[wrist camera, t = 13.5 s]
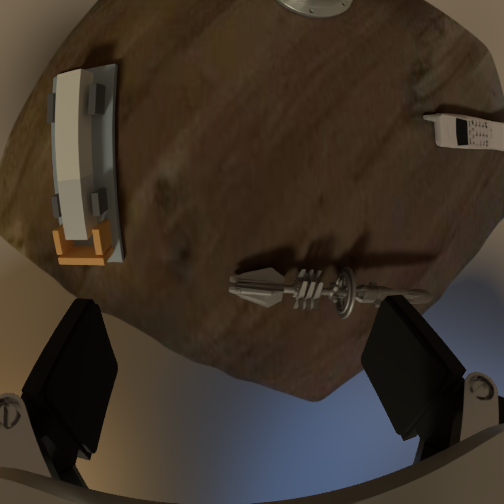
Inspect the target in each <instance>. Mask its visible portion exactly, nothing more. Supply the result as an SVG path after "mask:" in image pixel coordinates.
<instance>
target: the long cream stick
mask: <svg viewBox="0 0 504 504" xmlns="http://www.w3.org/2000/svg"><path fill="white" fill-rule="evenodd" d="M93 78H94V73H92V72H89V71H86V70H83V69H77V70H73V71H70V72H66V73H62V74H59V75H57V86H56V103H55V151H56V169H57V181H58V191H59V200H60V208H61V215H62V221H63V227H64V233H65V239H66V240H88V239H89V238H90V237H91V236H92V235H93V233H92V229H93V228H94V227H96V226H97V225H98V221H97V216H93V208H92V199H91V193H93V192H94V182H93V166H92V115H88V103H89V84H93Z"/></svg>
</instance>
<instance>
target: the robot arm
mask: <svg viewBox="0 0 504 504" xmlns="http://www.w3.org/2000/svg"><path fill="white" fill-rule="evenodd" d="M276 1H277V2H279V3H280V4H281V5H282V6H284V7H285V8H287V9H289V10H291V11H292V12H294V13H297V14H300V15H303V16H306V17H311V18H320V19H321V18H331V17H335V16H337V15H339V14H341V13H343V12H344V11H346V10H347V9H348V8H349V7H350V5H351V3H352V1H353V0H276ZM310 12H311V13H310ZM361 363H362V366H363V368H364V370H365V372H366V374H367V375H368V377H369V379H370V381H371V383H372V385H373V387H374V389H375V391H376V393H377V395H378V396H379V399H380V401H381V403H382V405H383V407H384V409H385V411H386V413H387V415H388V417H389V419H390V421H391V423H392V425H393V427H394V429H395V431H396V433H397V434H399V435H401V437H402V439H403V441H405V440H408V439H411V438H413V437H416V436H417V434H418V435H419V437H420V441H419V445H418V449H417V452H416V455H415V459H414V462H413V465H411V466H408V467H406V468H403V469H401V470H398V471H396V472H393V473H390V474H388V475H385V476H382V477H379V478H376V479H373V480H370V481H367V482H364V483H361V484H357V485H354V486H351V487H346V488H343V489H339V490H335V491H331V492H326V493H322V494H317V495H312V496H307V497H301V498H296V499H289V500H282V501H274V502H264V503H253V504H504V398H503V397H500V396H498V392H497V387H496V385H495V383H494V382H493V381H492V379H491V378H490V377H488V376H487V375H485V374H483V373H479V372H473V373H470V374H469V375H468V376H467V377H466V378H465V380H464V378H463V377H462V376H463V375H464V373H465V371H466V369H465V368H464V366H463V365H462V364H461V363H460V361H459V360H458V359H457V357H456V356H455V355H454V354H453V353H452V351H451V350H450V349H449V348H448V346H447V345H446V344H445V343H444V342H443V340H442V339H441V338H440V337H439V336H438V334H437V333H436V332H435V331H434V330H433V329H432V327H431V326H430V325H429V324H428V323H427V322H426V320H425V319H424V318H423V317H422V316H421V315H420V314H419V312H418V311H417V310H416V309H415V308H414V307H413V306H412V305H411V304H410V302H409V301H408V300H407V299H406V298H405V297H404V296H403V295H389V296H386V297H385V299H384V300H383V301H382V302H381V303H380V306H379V309H378V312H377V315H376V318H375V321H374V324H373V327H372V329H371V332H370V335H369V338H368V340H367V343H366V346H365V348H364V351H363V353H362V356H361ZM117 371H118V365H117V361H116V358H115V356H114V353H113V350H112V347H111V344H110V341H109V337H108V335H107V331H106V328H105V324H104V321H103V318H102V314H101V310H100V307H99V305H98V304H95V302H94V301H93V300H92V299H81V298H77V299H75V300H74V302H73V303H72V305H71V306H70V308H69V309H68V311H67V312H66V314H65V315H64V317H63V318H62V320H61V321H60V323H59V325H58V326H57V328H56V329H55V331H54V333H53V334H52V336H51V338H50V339H49V341H48V343H47V344H46V346H45V348H44V349H43V351H42V353H41V355H40V356H39V358H38V360H37V362H36V364H35V365H34V367H33V369H32V371H31V373H30V375H29V377H28V379H27V380H26V382H25V384H24V386H23V388H22V392H23V393H22V396H21V398H20V397H19V396H18V395H16V394H13V393H5V394H1V395H0V504H177V503H165V502H156V501H148V500H141V499H135V498H129V497H124V496H118V495H113V494H108V493H104V492H100V491H95V490H91V489H89V488H88V487H87V485H86V483H85V481H84V480H83V478H82V476H81V475H80V473H79V471H78V469H77V467H76V465H75V463H76V459H77V457H79V458H83V459H87V460H90V459H91V454H92V453H95V452H96V450H97V447H98V442H99V438H100V433H101V430H102V425H103V421H104V418H105V414H106V410H107V407H108V403H109V399H110V396H111V392H112V389H113V385H114V382H115V379H116V375H117Z"/></svg>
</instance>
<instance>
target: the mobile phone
mask: <svg viewBox="0 0 504 504" xmlns="http://www.w3.org/2000/svg"><path fill="white" fill-rule="evenodd" d="M423 117H424V119H425V120H429V121H434V127H435V142H436V144H437V145H438V146H441V147H450V148H464V149H495V150H501V151H504V123H500V122H493V121H492V122H491V121H488V120H484V119H481V118H477V117H472V116H467V115H460V114H449V113H443V114H442V113H437V114H433V115H424V116H423Z"/></svg>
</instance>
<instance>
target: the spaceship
mask: <svg viewBox="0 0 504 504" xmlns="http://www.w3.org/2000/svg"><path fill="white" fill-rule="evenodd" d="M313 271H314V270H310V271H309V273H308V274H307V272H306V269H302V271H301V273H300V272H298V271H297V272H296V280H295V281H296V283H293V285H283V284H284V276H282V275H281V274H280V273H278V272H277V271H275V270H274V269H273V268H266V269H261V270H256V271H251V272H246V273H242V274H241V275H237V276H232V277H230V281H231V282H232V283H233V284H235V286H231V287H230V288H229V292H231V293H234V294H236V295H239V296H240V297H241V298H244V299H246V300H249V301H251V302H254V303H257V304H259V305H262V306H264V307H267V308H268V307H270V306H272V305H274V304H276V303H278V302H280V301H282V296H283V293H291V294H293V297H298V298H296V299H297V301H296V304H295V306H294V308H295V309H297V308H298V306H299V310H303V309H305V307H306V308H307V310H311V309H312V308H313V307H314V310H315V311H318V310H319V305H318V301H319V298H320V296H321V295H326V296H327V295H329V299H331V300H332V301H333V302H334V303H335V307H336V311H337V314H338V316H339V317H340V318H342V319H345V318H347V317H348V316H349V315H350V314H351V312H352V310H353V307H354V304H355V300H357V301H359V302H362V303H363V304H364V302H365V303H374V305H375V307H379V306H380V303H381V302H382V301H383V300H384V299H385V297H386V296H389V295H403V296H404V297H405V298H406V299H407V300H408V301H409V302H410V303H416V304H424V303H428V302H430V301H431V300H432V299H433V296H432V294H431V293H430V292H428V291H425V290H422V289H403V290H400V289H391V288H388V287H384V286H378V285H377V283H376V282H370V283H369V285H364V284H362V285H357V286H356V279H355V275H354V272H353V270H352V269H351V268H350V267H344V268H343V269H342V270H341V271H340V273H339V276H338V278H337V281H336V284H335V283H334V282H331V283H330V287H329V288H322V287H323V283H319V284H317V282H316V281H317V279H318V277H319V275H320V273H321V271H319V270H318V271H317V273H316V274H315V275H314V273H313ZM347 272H348V273H347ZM303 276H304V281H303V280H302V279H303ZM310 278H311V281H309V280H310ZM347 280H348V281H347ZM231 282H230V283H231ZM346 284H347V287H346V286H345V285H346ZM347 298H348V299H347ZM303 300H305V301H304V303H303ZM311 300H312V302H311Z"/></svg>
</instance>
